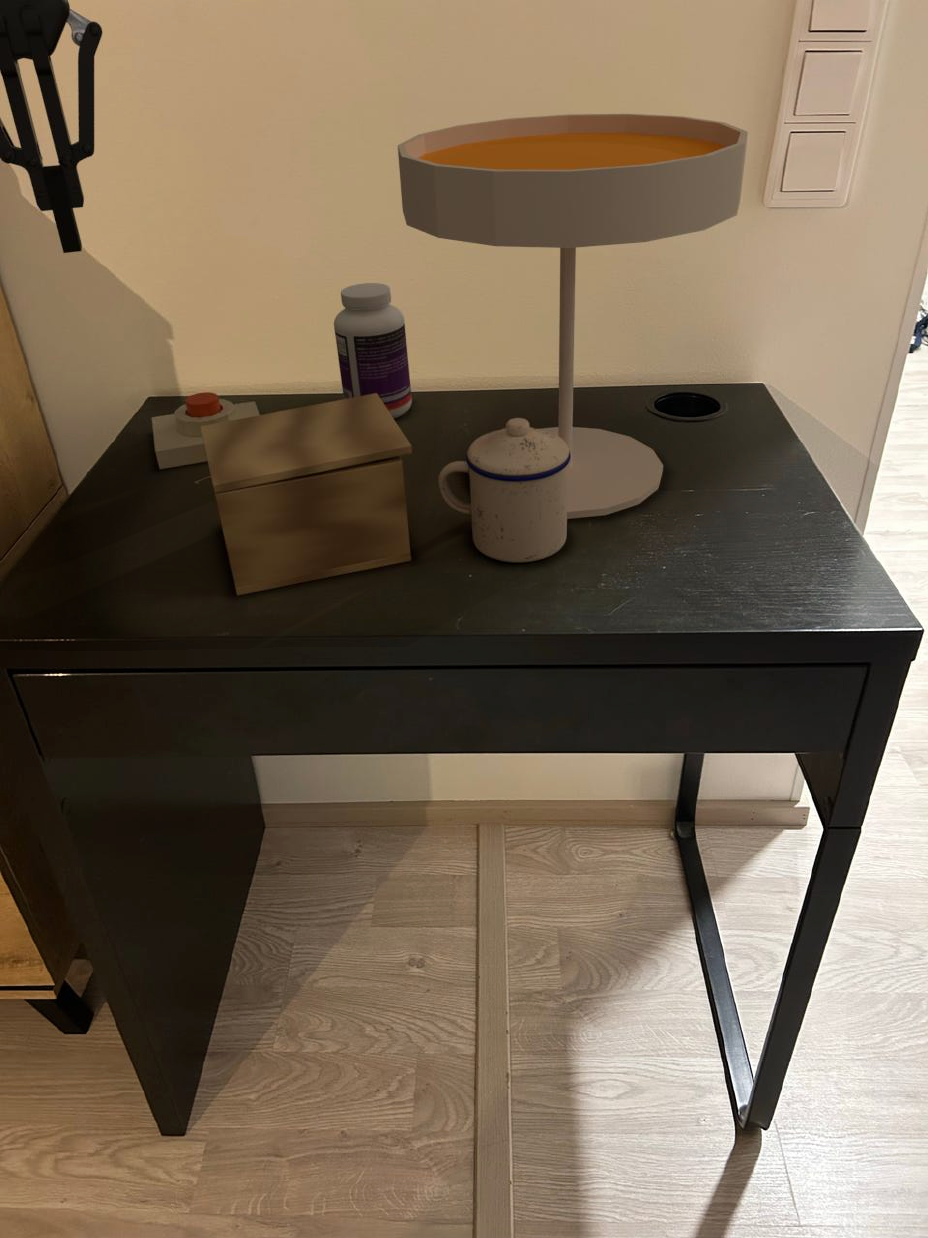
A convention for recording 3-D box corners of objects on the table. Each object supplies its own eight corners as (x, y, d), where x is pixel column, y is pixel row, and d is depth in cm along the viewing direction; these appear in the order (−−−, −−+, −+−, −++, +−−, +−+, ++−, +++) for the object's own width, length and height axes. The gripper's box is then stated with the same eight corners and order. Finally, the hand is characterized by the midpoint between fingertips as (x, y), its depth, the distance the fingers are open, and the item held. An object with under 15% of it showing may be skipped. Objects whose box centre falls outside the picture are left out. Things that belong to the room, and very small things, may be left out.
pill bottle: (424, 404, 116) (415, 282, 107) (390, 429, 110) (378, 303, 102) (368, 395, 119) (355, 276, 111) (332, 419, 113) (315, 296, 105)
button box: (159, 469, 104) (151, 435, 102) (155, 434, 112) (147, 402, 110) (269, 451, 107) (263, 417, 104) (257, 418, 115) (252, 386, 112)
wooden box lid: (377, 400, 90) (376, 392, 90) (412, 453, 80) (411, 444, 80) (201, 434, 87) (199, 426, 86) (214, 493, 77) (212, 485, 76)
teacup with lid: (577, 521, 90) (580, 404, 84) (557, 571, 83) (559, 447, 77) (456, 509, 93) (450, 395, 87) (427, 556, 86) (417, 436, 80)
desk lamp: (631, 399, 114) (648, 104, 96) (769, 508, 90) (825, 145, 73) (391, 441, 107) (361, 132, 89) (473, 570, 84) (455, 187, 66)
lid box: (379, 499, 96) (369, 407, 90) (411, 560, 86) (402, 461, 80) (222, 528, 92) (201, 434, 87) (237, 595, 82) (214, 494, 77)
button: (189, 421, 105) (186, 406, 104) (187, 409, 108) (184, 395, 107) (222, 416, 106) (219, 401, 105) (219, 404, 109) (216, 390, 108)
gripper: (81, -85, 75) (147, 232, 88) (-100, -80, 72) (-3, 247, 85) (79, -91, 69) (151, 249, 82) (-118, -86, 66) (-11, 266, 79)
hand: (72, 248), depth 84 cm, fingers closed
